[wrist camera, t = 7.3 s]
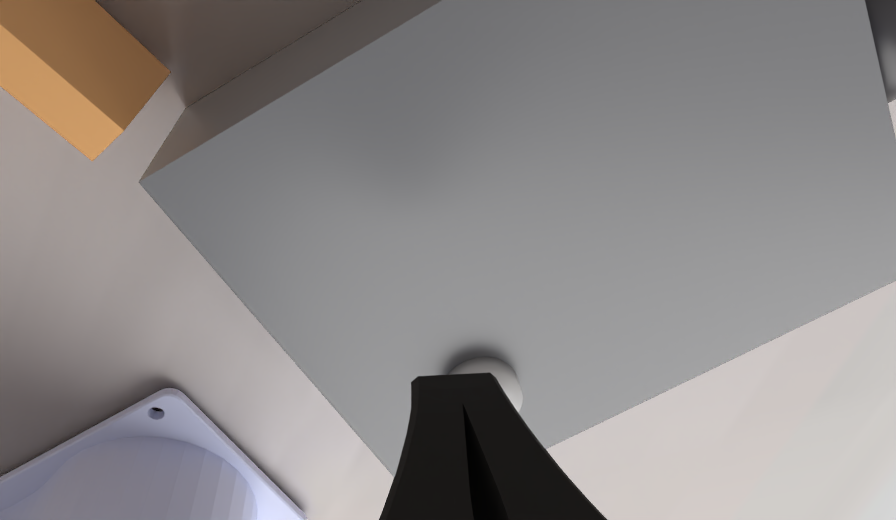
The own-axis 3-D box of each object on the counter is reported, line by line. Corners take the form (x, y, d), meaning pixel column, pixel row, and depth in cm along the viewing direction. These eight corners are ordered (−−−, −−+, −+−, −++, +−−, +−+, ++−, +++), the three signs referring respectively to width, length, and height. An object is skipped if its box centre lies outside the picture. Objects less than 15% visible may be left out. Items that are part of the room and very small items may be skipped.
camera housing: (409, 396, 25) (423, 525, 20) (185, 108, 20) (131, 193, 15) (865, 163, 23) (1003, 249, 18) (762, -244, 17) (924, -280, 12)
